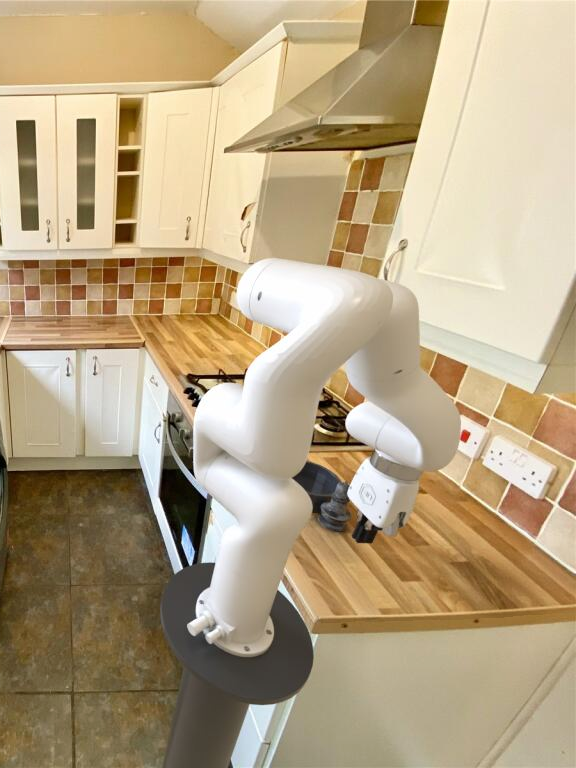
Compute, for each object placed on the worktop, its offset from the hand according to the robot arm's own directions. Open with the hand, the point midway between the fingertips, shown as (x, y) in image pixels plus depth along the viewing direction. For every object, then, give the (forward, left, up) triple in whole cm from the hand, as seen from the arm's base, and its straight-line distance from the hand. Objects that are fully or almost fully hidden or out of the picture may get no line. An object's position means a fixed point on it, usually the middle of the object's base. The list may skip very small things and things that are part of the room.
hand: (361, 540), depth 82 cm
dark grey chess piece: (+7, +8, -6) cm, 13 cm away
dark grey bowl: (+12, +18, -6) cm, 22 cm away
